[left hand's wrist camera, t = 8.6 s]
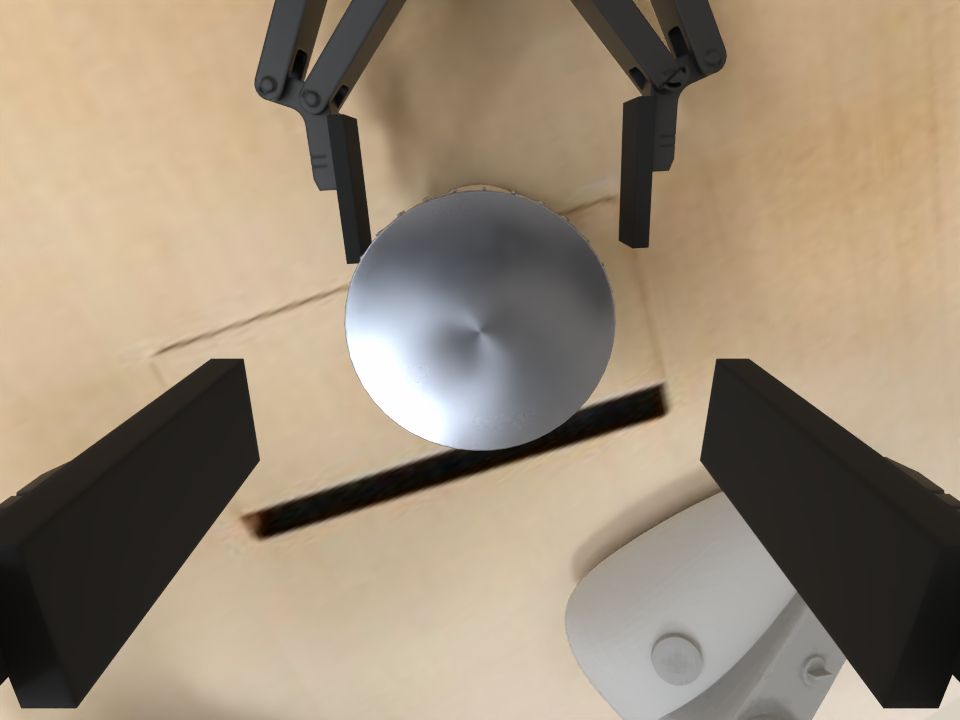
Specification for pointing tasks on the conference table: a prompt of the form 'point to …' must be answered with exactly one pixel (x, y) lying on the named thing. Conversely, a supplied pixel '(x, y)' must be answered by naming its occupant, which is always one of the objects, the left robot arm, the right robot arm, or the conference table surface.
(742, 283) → the conference table surface
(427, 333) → the lid
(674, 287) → the conference table surface
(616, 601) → the projector
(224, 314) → the conference table surface
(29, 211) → the conference table surface
